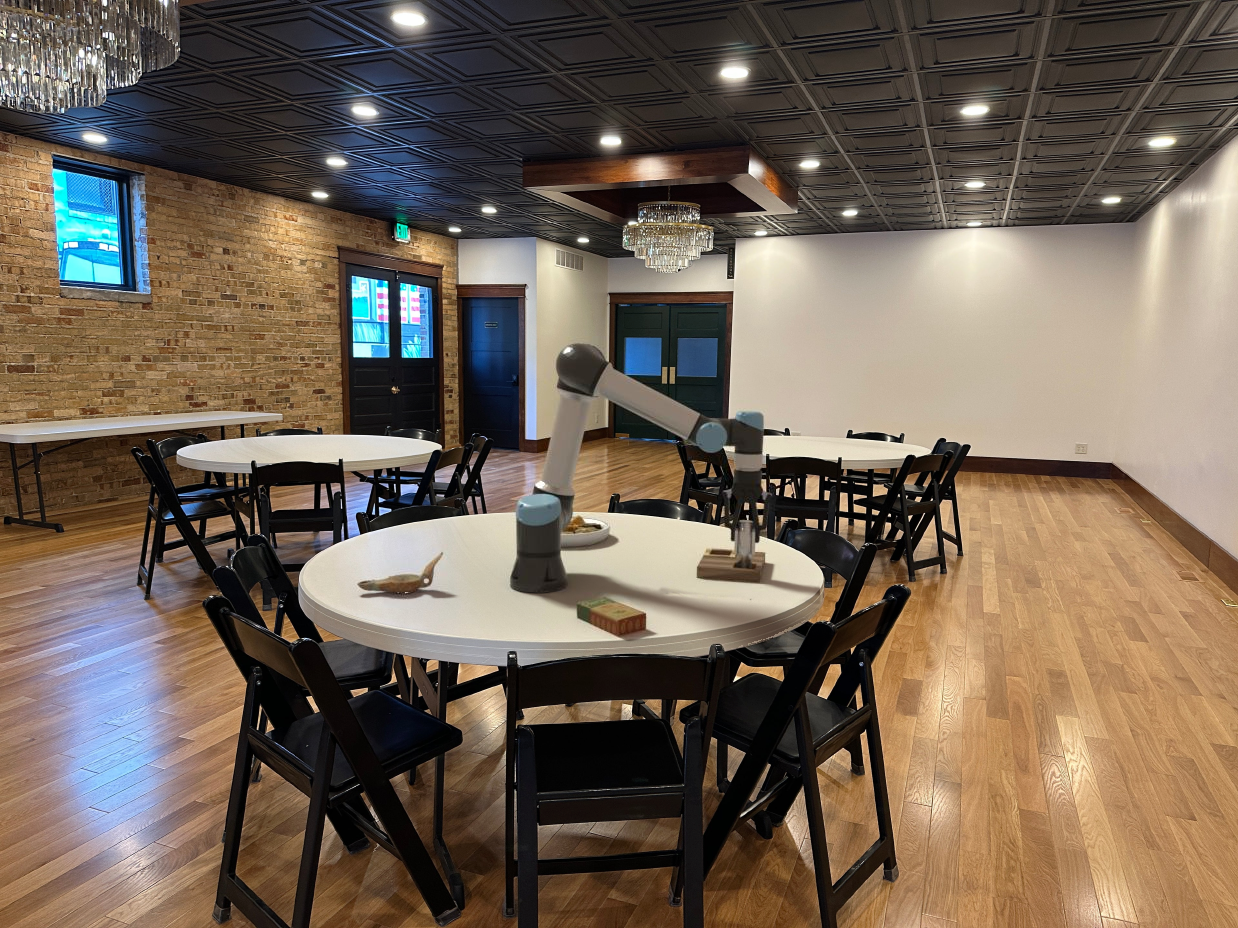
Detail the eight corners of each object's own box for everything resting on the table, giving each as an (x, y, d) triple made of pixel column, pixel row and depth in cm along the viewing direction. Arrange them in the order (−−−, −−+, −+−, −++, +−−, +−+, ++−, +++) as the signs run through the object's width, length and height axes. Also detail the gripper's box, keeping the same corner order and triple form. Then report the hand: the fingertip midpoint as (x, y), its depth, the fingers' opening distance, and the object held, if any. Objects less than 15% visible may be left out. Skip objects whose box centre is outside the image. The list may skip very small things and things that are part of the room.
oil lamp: (444, 593, 204) (443, 555, 203) (356, 599, 199) (355, 559, 198) (443, 584, 213) (442, 547, 211) (358, 589, 207) (357, 551, 206)
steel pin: (750, 574, 217) (752, 523, 215) (735, 573, 218) (737, 522, 216) (751, 570, 221) (753, 520, 219) (737, 569, 222) (739, 519, 220)
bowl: (624, 535, 276) (624, 512, 275) (584, 553, 249) (584, 529, 248) (548, 526, 288) (548, 505, 287) (502, 543, 261) (502, 520, 260)
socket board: (759, 585, 214) (760, 570, 213) (696, 581, 218) (696, 565, 217) (764, 565, 235) (765, 551, 235) (707, 561, 239) (707, 547, 239)
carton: (617, 638, 174) (617, 619, 173) (575, 619, 187) (575, 601, 186) (646, 630, 179) (647, 611, 178) (604, 612, 191) (604, 595, 191)
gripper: (780, 468, 218) (776, 552, 221) (717, 465, 221) (715, 548, 225) (779, 472, 210) (775, 559, 213) (714, 469, 214) (711, 554, 217)
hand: (744, 553), depth 219 cm, fingers closed on steel pin, 4 cm apart
